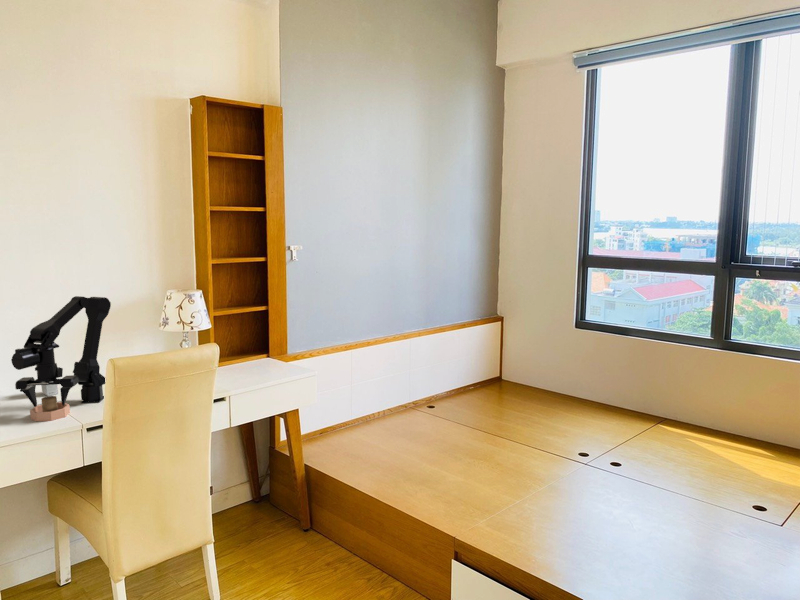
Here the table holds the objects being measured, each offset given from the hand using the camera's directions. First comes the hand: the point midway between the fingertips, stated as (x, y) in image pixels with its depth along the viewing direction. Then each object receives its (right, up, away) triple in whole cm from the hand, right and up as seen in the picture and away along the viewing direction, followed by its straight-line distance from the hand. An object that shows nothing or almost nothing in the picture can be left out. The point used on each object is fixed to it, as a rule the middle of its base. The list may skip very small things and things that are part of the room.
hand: (49, 406), depth 220 cm
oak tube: (0, -4, 0) cm, 4 cm away
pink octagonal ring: (0, -3, 0) cm, 4 cm away
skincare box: (-15, 0, +26) cm, 30 cm away
